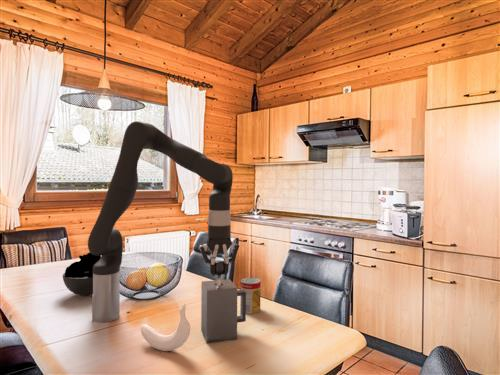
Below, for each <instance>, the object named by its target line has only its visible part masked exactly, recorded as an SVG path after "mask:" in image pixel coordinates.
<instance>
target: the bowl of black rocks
mask: <svg viewBox="0 0 500 375" xmlns="http://www.w3.org/2000/svg"><path fill="white" fill-rule="evenodd" d="M101 257H102V255H101V256H95V255H93V254H91V253H90V251H89V252H88V253H86V254H83V255H78V258H79V260H78V261H74V262H73V263H70V265H69V266H66V267H65V271H64V273H63V274H62V279H63V284H64V285H65V287H66V288H67V290H69V291H70V292H71V293H72V294H75V295H78V296H81V297H88V296H92V295H93V266H94V265H95V264H96V263H97V262H98V261H99V260H100V259H101Z"/></svg>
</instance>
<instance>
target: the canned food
mask: <svg viewBox="0 0 500 375" xmlns="http://www.w3.org/2000/svg"><path fill="white" fill-rule="evenodd" d="M261 284H262V283H261V279H260V278H256V277H244V278H242V279H240V290H244V291H245V292H246V315H255V314H258V313H260V311H261Z"/></svg>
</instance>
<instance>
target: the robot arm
mask: <svg viewBox="0 0 500 375" xmlns="http://www.w3.org/2000/svg"><path fill="white" fill-rule="evenodd" d="M143 150H151V151H156V152H159V153H161V154H163V155H165V156H167V157H168V158H169V159H171V160H172V161H173V162H175V164H177V165H179V166H180V167H182V168H184V169H186V170H188V171H190V172H192V173H194V174H196V175H198V176H199V177H200V178H201V179H202V180H205V182H208V183H210V184H212V192H211V193H210V194H209V196H208V216H207V240H206V243H204V244H200V245H199V246H198V249H199V250H200V254H201V256H202V260H203V261H204V262H205V264H209V274H210V275H211V276H213V277H215V276H216V275H215V264H214V263H215V261H216V259H217V255H222V259H223V261H224V274H223V276H227V274H228V273H229V264H230V263H231V262H233V263H234V262H235V259H236V257H237V253H238V251H239V249H240V245H239V244H238V243H235V242H233V241H232V237H231V236H232V235H231V232H232V230H231V228H232V226H231V225H232V220H231V219H232V218H231V216H232V215H231V199H230V198H231V192H232V188H233V187H232V186H233V177H234V175H233V171H232V168H231V167H230V166H229V165H227V164H225V163H219V162H217V161H214V160H212V159H211V158H208V157H207V155H205V154H204V153H202V152H200V151H197V149H196V150H195V149H193V148H192V147H189V146H187V145H185V144H183V143H181V142H180V141H178V140H176V139H173V138H172V137H170V136H168V135H167V134H166V133H164V132H163V131H162V130H160V129H159V128H158V127H156V126H155V125H153V124H151V123H149V122H144V121H139V120H137V121H136V120H135V121H132V122H130V124H128V126H127V127H126V129H125V131H124V134H123V139H122V144H121V148H120V153H119V155H118V160H117V162H116V165H115V169H114V171H113V175H112V178H111V180H110V183H109V185H108V188H107V192H106V194H105V198H104V201H103V203H102V206H101V209H100V211H99V213H98V217H97V218H96V220H95V223H94V225H93V227H92V229H91V231H90V233H89V237H88V239H87V248H88V251H89V252H90V253H91V254H93V255H95V256H102V257H101V259H100V260H99V261H98V262H97V263H96V264H95V265H94V266H93V295H91V322H92V323H93V322H95V323H107V322H112V321H114V320H117V319H119V318H120V316H121V315H120V312H121V310H120V308H121V306H120V304H121V303H120V297H121V295H120V292H121V291H120V288H121V287H120V282H121V281H120V277H121V276H120V273H121V272H120V271H121V270H120V269H121V268H120V267H121V265H122V263H123V246H124V243H123V242H124V241H123V236H122V233H121V231H120V230H119V229H117V228H115V225H116V223H117V221H118V220H119V219H120V218H121V217H122V216H123V214H124V213H125V212H126V211H127V209H129V207H130V205H131V204H132V203H133V201H134V198H135V195H136V193H137V189H138V186H139V174H138V163H139V160H140V157H141V155H142V153H143ZM230 248H231V249H232V250H231V252H230V254H228V250H229V249H230ZM207 249H209V250H210V257H209V256H208V255H207V253H206V251H207Z"/></svg>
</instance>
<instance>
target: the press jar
mask: <svg viewBox="0 0 500 375" xmlns="http://www.w3.org/2000/svg"><path fill="white" fill-rule="evenodd" d="M200 294H201V295H200V296H201V297H200V298H201V300H200V301H201V305H200V306H201V309H200V310H201V311H200V314H201V315H200V316H201V318H200V321H201V322H200V324H201V325H200V326H201V327H200V328H201V330H200V331H201V333H202V335H203V338H204V341H205V342H206V344H211V343H213V344H214V343H220V342H227V341H234V340H235V341H236V340H238V323H245V322H246V321H247V320H246V319H247V316H246V315H247V314H246V292H245V291H244V290H241V289H238V287H237V286H236V284H235V283H234V282H233V281H232V280H231V279H221V286H217V279H215V280H206V281H205V280H204V281H203V280H202V281H201V293H200ZM238 297H240V306H239V308H240V311H239V312H240V314H239V315H238Z"/></svg>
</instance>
